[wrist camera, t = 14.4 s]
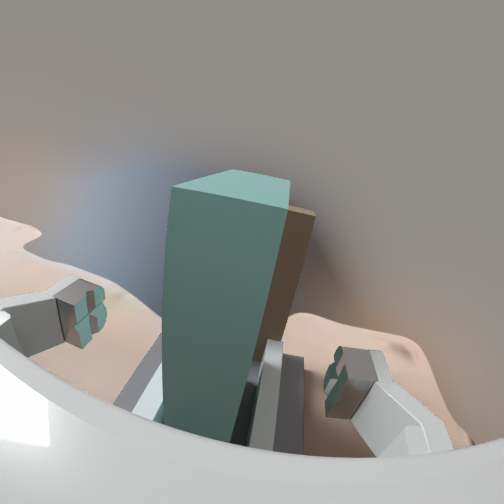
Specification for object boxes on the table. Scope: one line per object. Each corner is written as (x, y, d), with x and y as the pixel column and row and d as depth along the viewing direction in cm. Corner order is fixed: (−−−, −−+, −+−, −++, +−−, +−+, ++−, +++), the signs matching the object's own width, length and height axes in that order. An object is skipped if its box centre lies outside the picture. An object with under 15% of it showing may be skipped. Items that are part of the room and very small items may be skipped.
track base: (60, 505, 7) (-85, 301, 2) (166, 334, 24) (178, 183, 19) (286, 574, 6) (505, 484, 2) (299, 367, 23) (348, 219, 18)
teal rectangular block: (165, 457, 12) (168, 185, 7) (202, 369, 19) (231, 168, 14) (222, 473, 12) (292, 210, 7) (245, 380, 19) (292, 181, 14)
